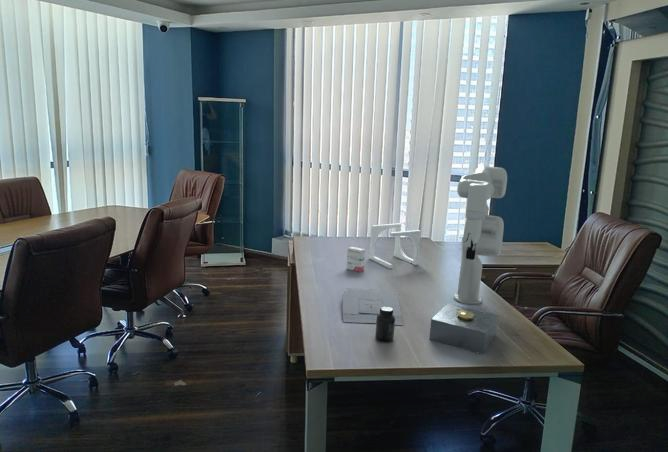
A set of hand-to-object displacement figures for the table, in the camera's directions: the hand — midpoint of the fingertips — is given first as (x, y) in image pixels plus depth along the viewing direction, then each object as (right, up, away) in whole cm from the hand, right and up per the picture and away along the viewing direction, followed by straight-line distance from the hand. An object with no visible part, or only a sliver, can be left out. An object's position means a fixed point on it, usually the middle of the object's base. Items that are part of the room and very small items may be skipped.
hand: (470, 258), depth 201 cm
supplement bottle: (-37, -29, -16) cm, 49 cm away
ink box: (-44, -10, +66) cm, 80 cm away
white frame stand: (-21, -8, +85) cm, 88 cm away
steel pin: (-6, -29, -11) cm, 32 cm away
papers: (-40, -23, +11) cm, 47 cm away
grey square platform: (-6, -29, -11) cm, 32 cm away
